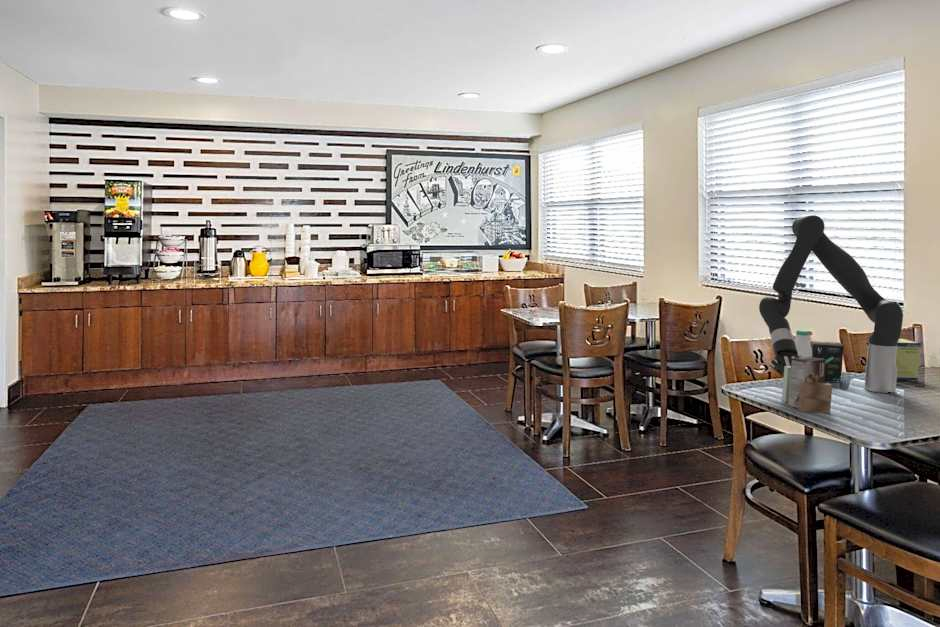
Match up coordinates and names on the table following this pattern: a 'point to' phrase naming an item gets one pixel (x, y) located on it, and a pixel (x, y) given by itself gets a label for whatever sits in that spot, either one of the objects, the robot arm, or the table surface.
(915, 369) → the protein box
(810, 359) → the coffee box
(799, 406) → the end block
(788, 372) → the bookend
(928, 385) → the table surface
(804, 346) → the milk bottle
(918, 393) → the table surface
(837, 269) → the robot arm
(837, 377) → the tampon box
